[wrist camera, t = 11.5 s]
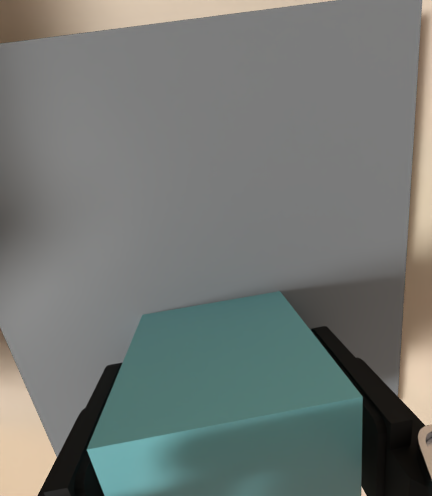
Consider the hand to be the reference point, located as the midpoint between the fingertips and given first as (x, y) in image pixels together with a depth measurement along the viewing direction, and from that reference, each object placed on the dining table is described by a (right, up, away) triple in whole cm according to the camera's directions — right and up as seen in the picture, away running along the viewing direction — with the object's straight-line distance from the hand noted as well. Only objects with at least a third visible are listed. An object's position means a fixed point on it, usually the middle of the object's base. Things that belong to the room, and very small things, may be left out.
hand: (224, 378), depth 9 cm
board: (-1, +4, +2) cm, 4 cm away
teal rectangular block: (0, 0, +1) cm, 1 cm away
